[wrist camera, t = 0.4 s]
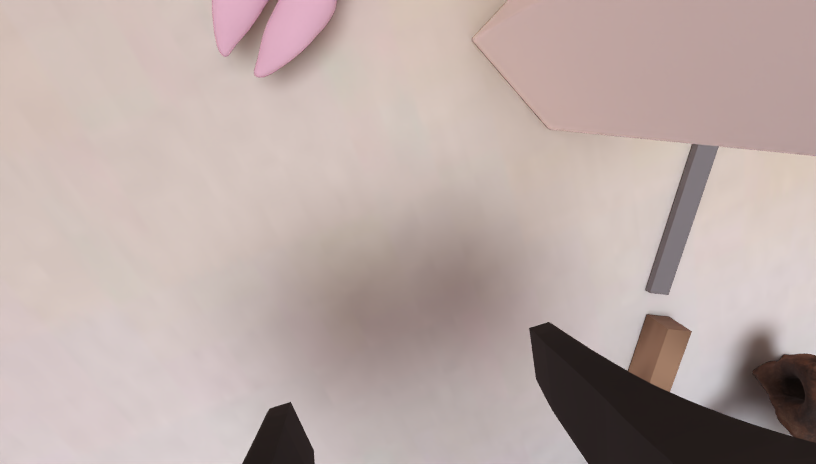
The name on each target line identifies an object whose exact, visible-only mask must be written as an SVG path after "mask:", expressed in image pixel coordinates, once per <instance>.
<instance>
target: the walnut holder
mask: <svg viewBox="0 0 816 464" xmlns="http://www.w3.org/2000/svg"><path fill="white" fill-rule="evenodd" d="M691 332H692V331H690V330H689V329H687V328H686V327H684V326H683V325H681V324H679V323H678V322H676V321H675V320H673V319H672V318H670V317H666V316H657V315H647V316H646V319H645V322H644V325H643V328H642V331H641V334H640V337H639V340H638V343H637V346H636V349H635V352H634V355H633V358H632V361H631V364H630V367H629V370H628V371H629V372H630V373H632V374H634V375H636V376H638V377H640V378H642V379H643V380H645V381H647V382H649V383H651V384H653V385H655V386H657V387H659V388H662V389H664V390H666V391H668V392H670V390H671V387H672V385H673V382H674V379H675V376H676V373H677V371H678V368H679V365H680V362H681V360H682V357H683V354H684V351H685V349H686V346H687V343H688V340H689V337H690V335H691Z"/></svg>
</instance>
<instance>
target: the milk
mask: <svg viewBox="0 0 816 464" xmlns="http://www.w3.org/2000/svg"><path fill="white" fill-rule="evenodd" d="M472 40H473V42H474V43H475V44H476V45H477V46H478V48H479V49H480V50H481V51H482V52H483V53H484V55H485V56H486V57H487V58H488V59H489V60H490V62H491V63H492V64H493V65H494V66H495V67H496V68H497V70H498V71H499V72H500V73H501V74H502V75H503V77H504V78H505V79H506V80H507V81H508V82H509V84H510V85H511V86H512V87H513V88H514V89H515V90H516V92H517V93H518V94H519V95H520V96H521V97H522V99H523V100H524V101H525V102H526V103H527V104H528V106H529V107H530V108H531V109H532V110H533V111H534V113H535V114H536V115H537V116H538V117H539V118H540V119H541V121H542V122H543V123H544V124H545V125H546V126H547V128H548V129H551V130H560V131H570V132H580V133H590V134H600V135H610V136H620V137H630V138H640V139H650V140H660V141H670V142H680V143H690V144H700V145H710V146H720V147H730V148H740V149H750V150H760V151H770V152H780V153H790V154H800V155H810V156H816V0H508V1H507V2H506V3H505V4H504V5H503V6H502V7H501V8H500V9H499V10H498V11H497V12H496V13H495V15H494V16H493V17H492V18H491V19H490V20H489V21H488V22H487V23H486V24H485V25H484V26H483V27H482V28H481V29H480V31H479V32H478V33H477V34H476V35H475V36H474V37H473V38H472Z"/></svg>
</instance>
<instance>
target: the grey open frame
mask: <svg viewBox="0 0 816 464" xmlns="http://www.w3.org/2000/svg"><path fill="white" fill-rule="evenodd" d="M718 147H719V146H710V145H700V144H693V145H692V148H691V151H690V154H689V157H688V160H687V163H686V166H685V169H684V173H683V176H682V179H681V182H680V185H679V188H678V191H677V194H676V197H675V200H674V203H673V207H672V210H671V213H670V216H669V219H668V222H667V225H666V228H665V231H664V234H663V237H662V241H661V244H660V247H659V250H658V253H657V256H656V259H655V262H654V265H653V268H652V271H651V275H650V278H649V281H648V284H647V287H646V291H648V292H649V293H655V294H664V295H669V292H670V289H671V286H672V283H673V280H674V277H675V274H676V271H677V268H678V265H679V262H680V259H681V256H682V253H683V250H684V247H685V244H686V241H687V238H688V236H689V233H690V230H691V227H692V224H693V221H694V218H695V215H696V212H697V209H698V206H699V203H700V200H701V197H702V194H703V191H704V188H705V185H706V182H707V179H708V176H709V174H710V171H711V168H712V165H713V162H714V159H715V156H716V153H717V150H718Z"/></svg>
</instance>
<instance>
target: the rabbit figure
mask: <svg viewBox="0 0 816 464" xmlns="http://www.w3.org/2000/svg"><path fill="white" fill-rule="evenodd" d="M268 1H269V0H212V15H213V25H214V34H215V38H216V43H217V47H218V50H219V52H220V53H221V54H222V55H223V56H225V57H226V56H228V55H229V54H230V53H231V51H232V50H233V49H234V47H235V46H236V45H237V43H238V42H239V41H240V40H241V39H242V38H243V36H244V35H245V34H246V33H247V32H248V31H249V29H250V28H251V27H252V25H253V24H254V22H255V21H256V19H257V18H258V17H259V15H260V13H261V12H262V10H263V9H264V7H265V5H266V4H267V2H268ZM336 4H337V0H278V2H277V4H276V6H275V8H274V10H273V12H272V14H271V16H270V18H269V20H268V22H267V25H266V28H265V30H264V34H263V37H262V41H261V45H260V50H259V54H258V58H257V62H256V66H255V69H254V75H255V76H256V77H265V76H268V75H270V74H272V73H274V72H275V71H277V70H278V69H280V68H281V67H283V66H284V65H286V64H287V63H288V62H290V61H291V60H292V59H294V58H295V57H296V56H297V55H299V54H300V53H301V52H302V51H303V50H304V49H305V48H306V47H307V46H308V45H309V44H310V43H311V42H312V41H313V40H314V38H315V37H316V36H317V35H318V34H319V33H320V32H321V31H322V30H323V29H324V28H325V26H326V25H327V23H328V22H329V20H330V19H331V17H332V16H333V14H334V12H335V9H336Z"/></svg>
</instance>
